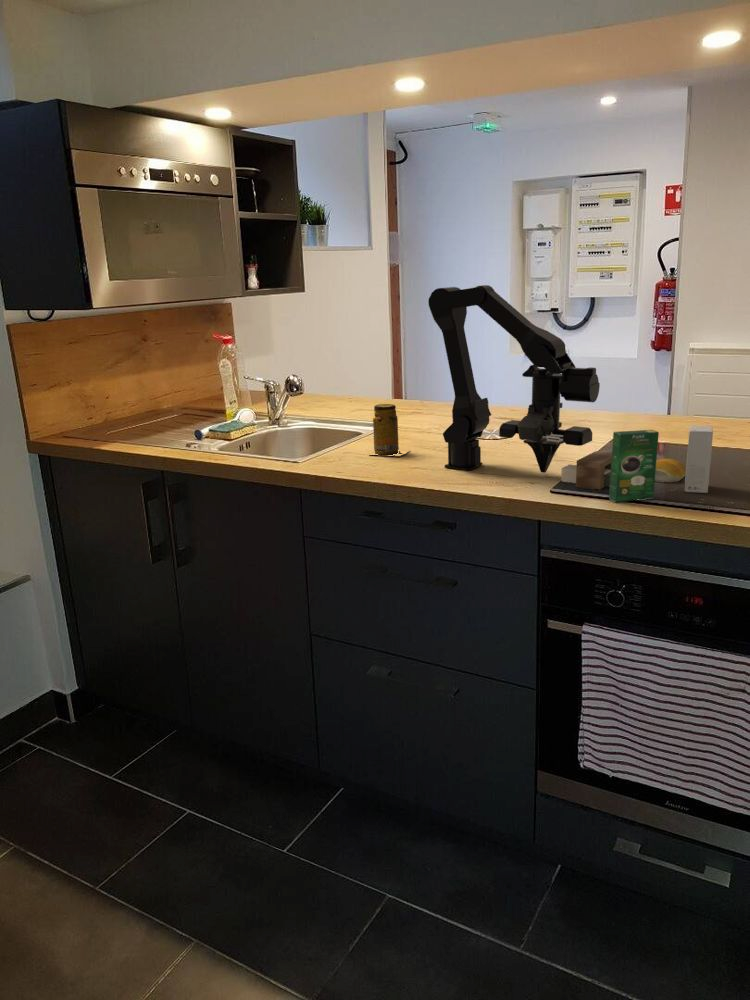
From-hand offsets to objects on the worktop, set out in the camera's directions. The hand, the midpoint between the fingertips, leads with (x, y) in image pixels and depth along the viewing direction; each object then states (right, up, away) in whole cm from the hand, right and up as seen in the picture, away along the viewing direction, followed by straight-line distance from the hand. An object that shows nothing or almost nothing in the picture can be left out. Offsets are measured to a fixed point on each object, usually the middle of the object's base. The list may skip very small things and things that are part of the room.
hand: (543, 472), depth 166 cm
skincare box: (+27, -4, -14) cm, 30 cm away
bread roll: (+24, -2, -4) cm, 24 cm away
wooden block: (+9, -2, -7) cm, 12 cm away
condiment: (-32, +5, +27) cm, 42 cm away
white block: (+8, -3, -6) cm, 11 cm away
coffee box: (+13, -6, -19) cm, 23 cm away
